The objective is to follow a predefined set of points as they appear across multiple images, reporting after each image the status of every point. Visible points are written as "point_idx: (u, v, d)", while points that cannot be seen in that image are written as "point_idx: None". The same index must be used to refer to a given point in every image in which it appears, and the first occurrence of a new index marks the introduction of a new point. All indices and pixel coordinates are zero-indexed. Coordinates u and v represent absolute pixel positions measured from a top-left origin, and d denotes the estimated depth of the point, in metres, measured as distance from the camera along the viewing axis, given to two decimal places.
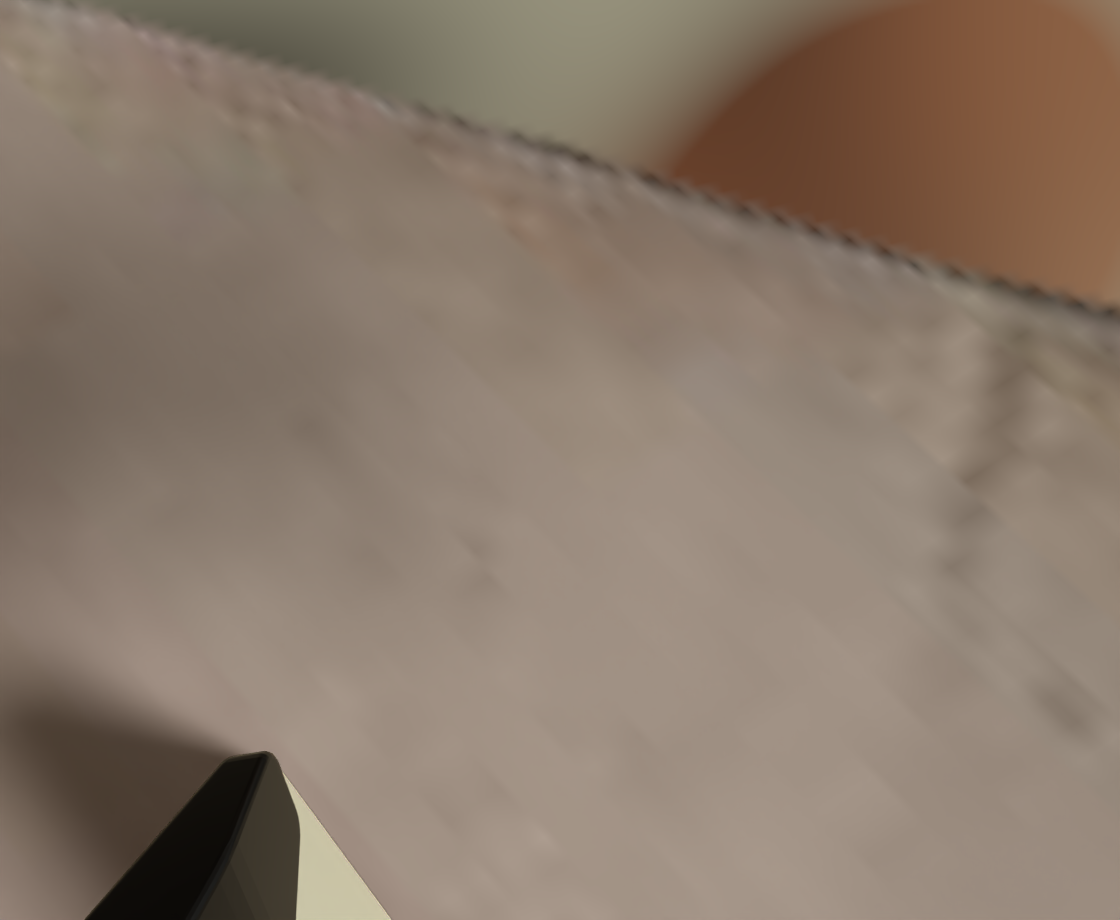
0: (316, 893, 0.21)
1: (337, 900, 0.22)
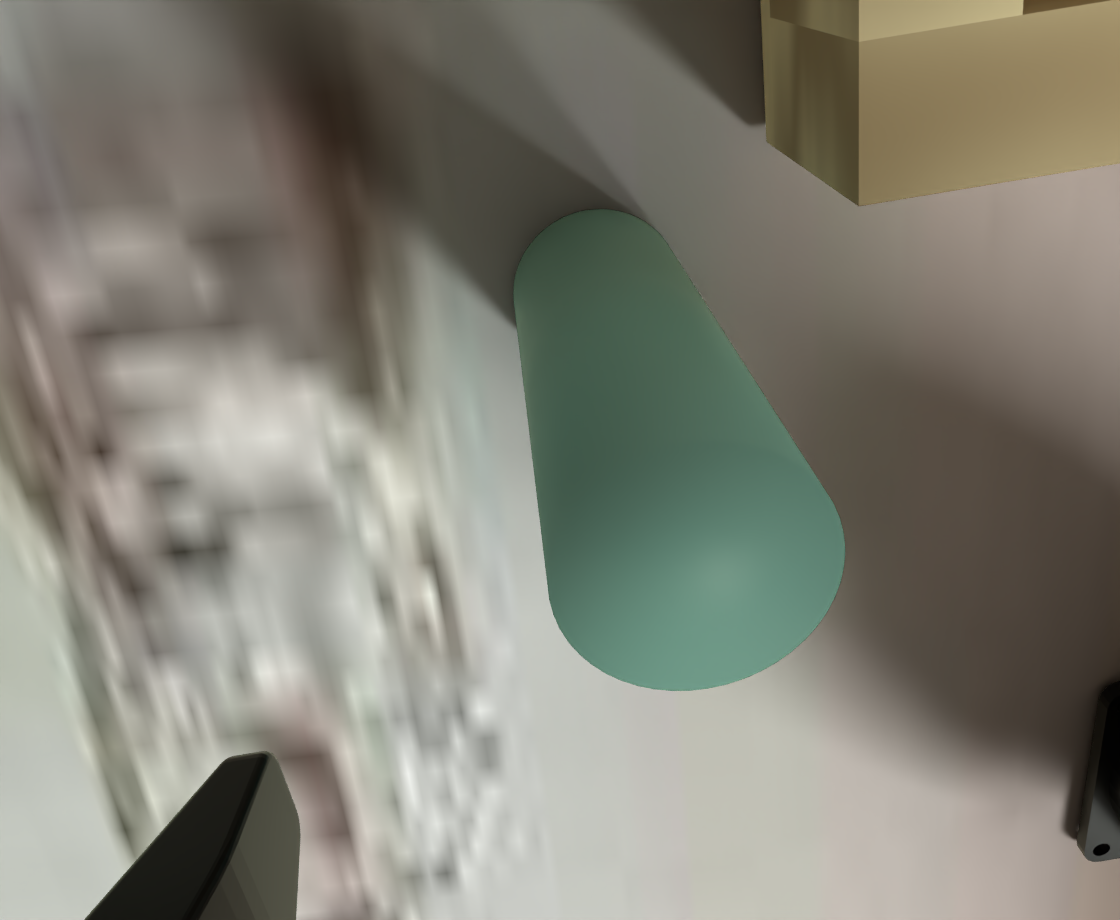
0: None
1: None
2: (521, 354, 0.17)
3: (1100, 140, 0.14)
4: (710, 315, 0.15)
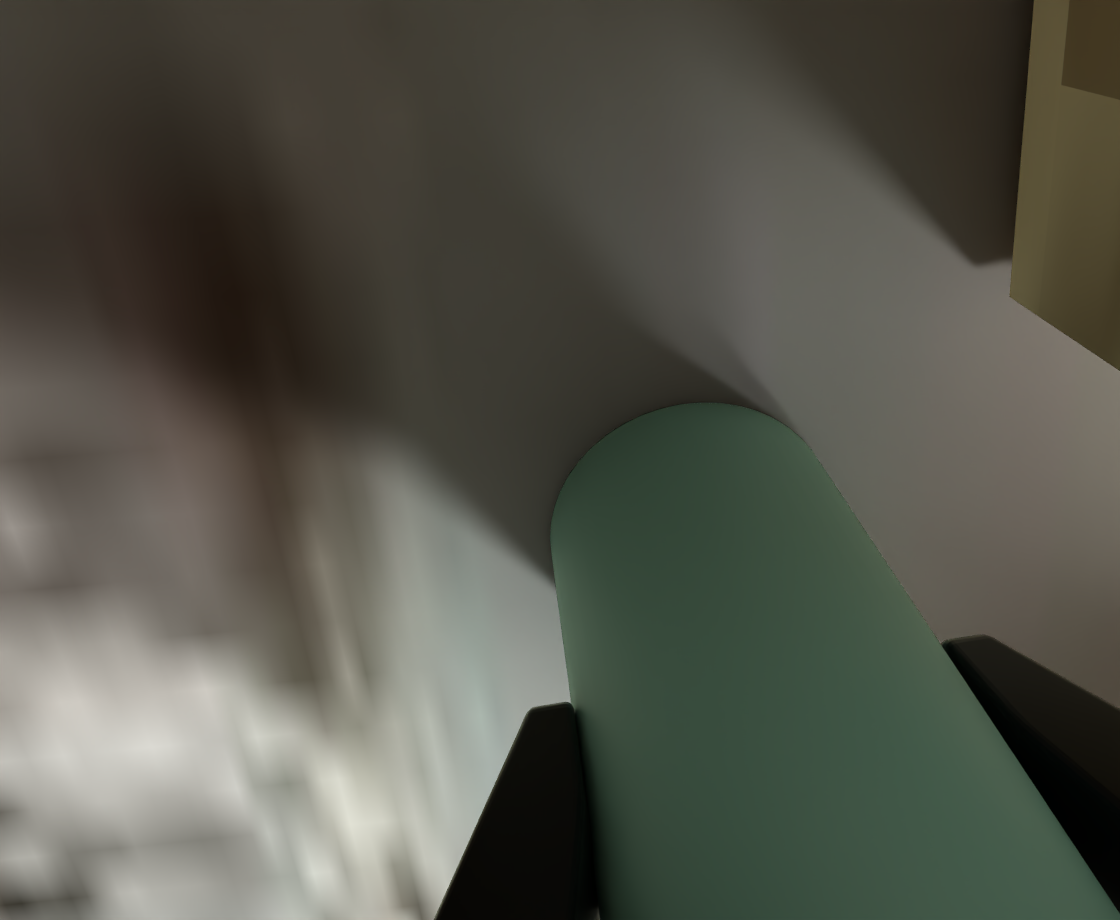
0: None
1: None
2: (580, 742, 0.09)
3: None
4: (1001, 742, 0.07)
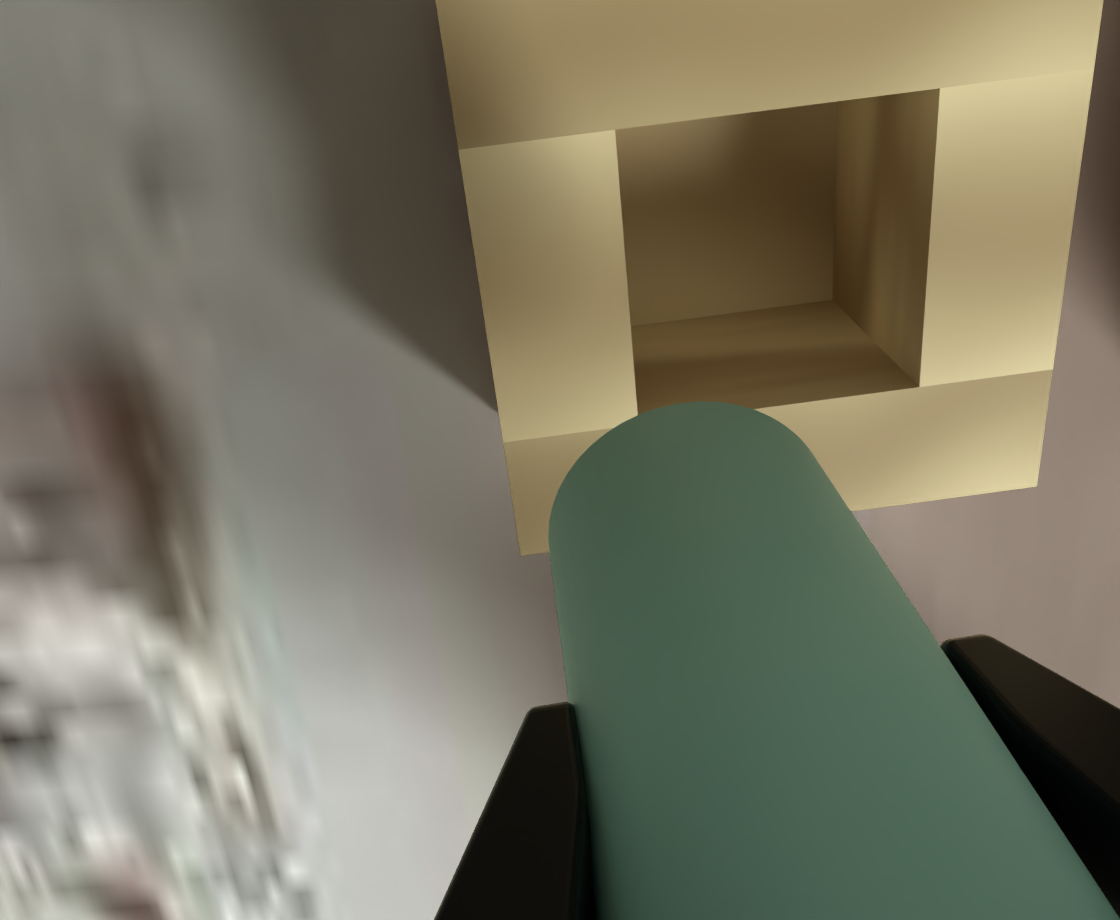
0: None
1: None
2: None
3: None
4: (997, 741, 0.07)
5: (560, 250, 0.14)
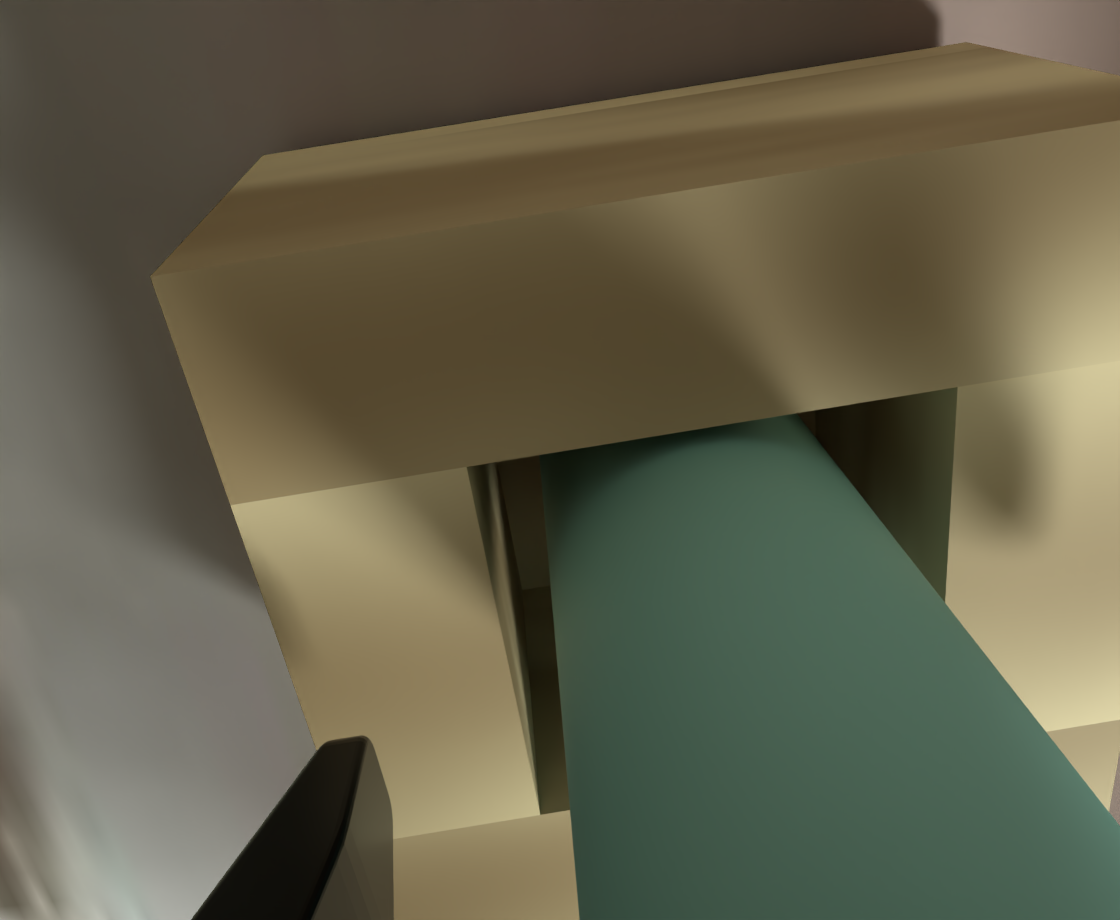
0: None
1: None
2: (549, 550, 0.11)
3: None
4: (868, 507, 0.09)
5: (401, 621, 0.10)
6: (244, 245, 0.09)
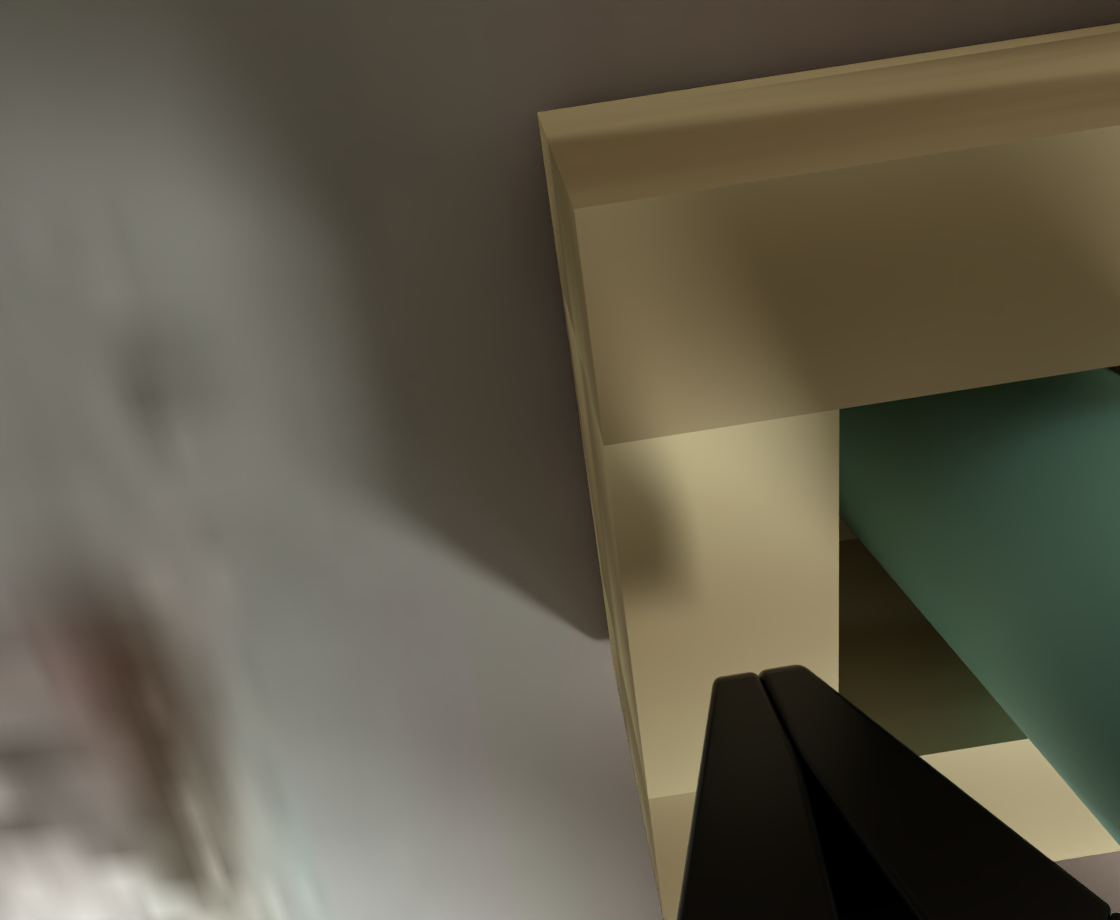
0: None
1: None
2: (912, 529, 0.11)
3: None
4: None
5: (745, 567, 0.10)
6: (645, 182, 0.09)
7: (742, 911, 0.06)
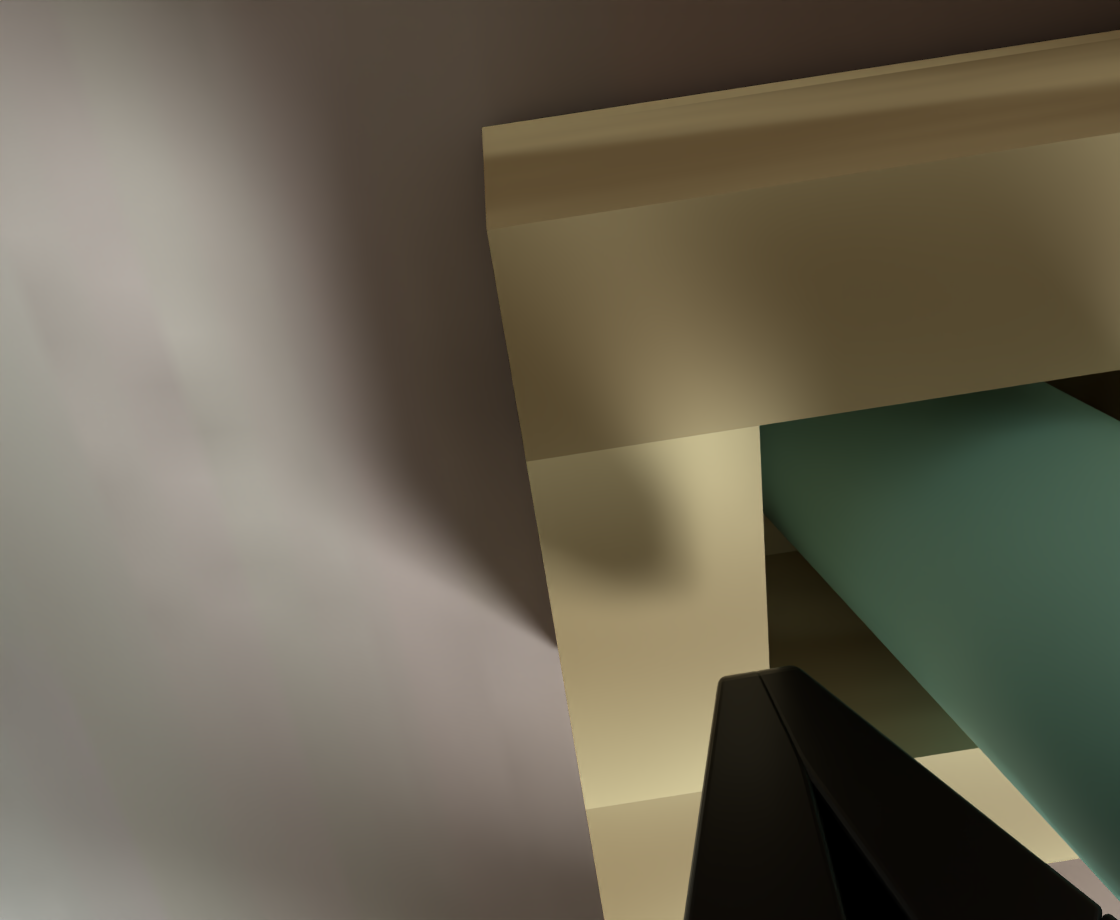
0: None
1: None
2: (864, 550, 0.10)
3: None
4: None
5: (672, 579, 0.10)
6: (561, 202, 0.09)
7: (749, 910, 0.06)
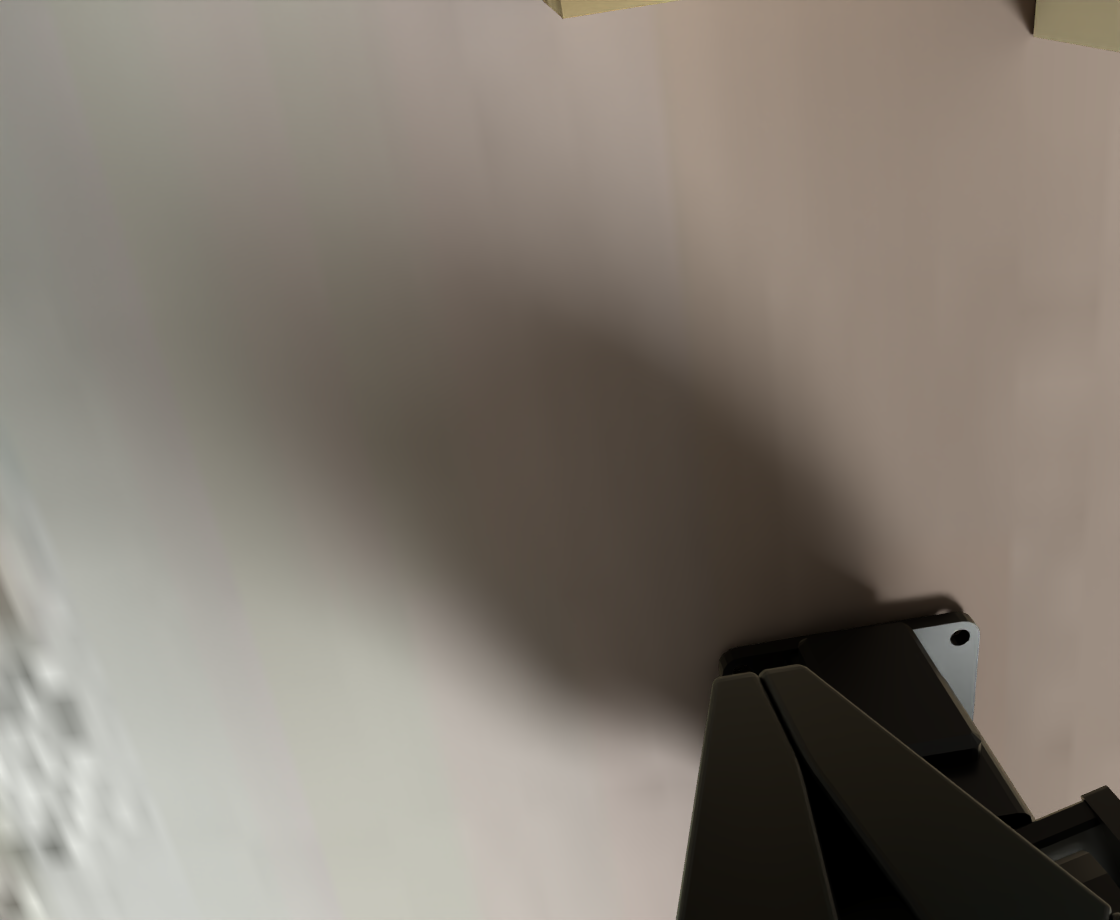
0: None
1: None
2: None
3: None
4: None
5: None
6: None
7: (741, 911, 0.06)
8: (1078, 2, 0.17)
